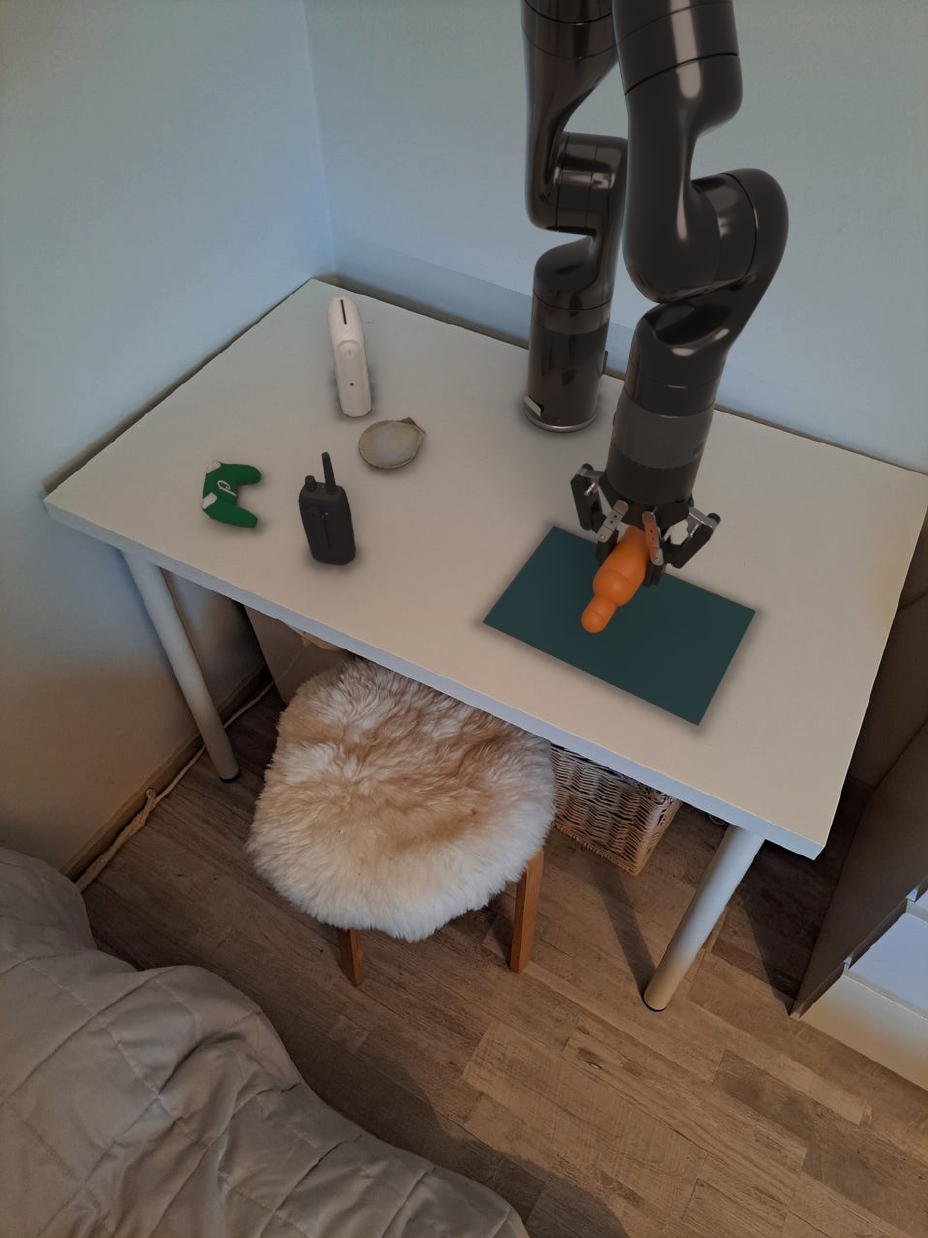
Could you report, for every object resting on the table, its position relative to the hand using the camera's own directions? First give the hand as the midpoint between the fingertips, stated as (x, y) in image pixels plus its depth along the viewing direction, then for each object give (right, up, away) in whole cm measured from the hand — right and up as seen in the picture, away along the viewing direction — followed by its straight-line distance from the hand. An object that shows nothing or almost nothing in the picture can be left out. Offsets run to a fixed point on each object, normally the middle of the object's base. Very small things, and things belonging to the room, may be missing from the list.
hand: (627, 570), depth 81 cm
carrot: (0, 0, +1) cm, 1 cm away
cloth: (0, -5, +7) cm, 8 cm away
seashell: (-25, +16, +23) cm, 37 cm away
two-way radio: (-31, +2, +12) cm, 33 cm away
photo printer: (-31, +25, +30) cm, 50 cm away
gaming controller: (-43, +9, +18) cm, 47 cm away
